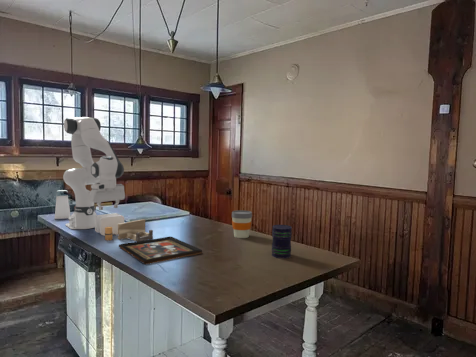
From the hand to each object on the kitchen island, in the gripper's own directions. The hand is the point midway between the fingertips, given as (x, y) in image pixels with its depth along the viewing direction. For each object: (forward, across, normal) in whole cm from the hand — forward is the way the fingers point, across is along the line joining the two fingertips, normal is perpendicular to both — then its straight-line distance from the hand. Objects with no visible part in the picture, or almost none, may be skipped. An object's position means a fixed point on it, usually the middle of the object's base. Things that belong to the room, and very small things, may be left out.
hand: (108, 208), depth 205 cm
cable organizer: (+18, -8, -12) cm, 23 cm away
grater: (+17, -12, -81) cm, 84 cm away
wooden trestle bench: (+18, -13, +10) cm, 24 cm away
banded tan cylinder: (+18, 0, 0) cm, 18 cm away
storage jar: (+19, -41, +91) cm, 101 cm away
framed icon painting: (+19, -6, +38) cm, 43 cm away
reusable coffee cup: (+19, -58, +52) cm, 80 cm away
